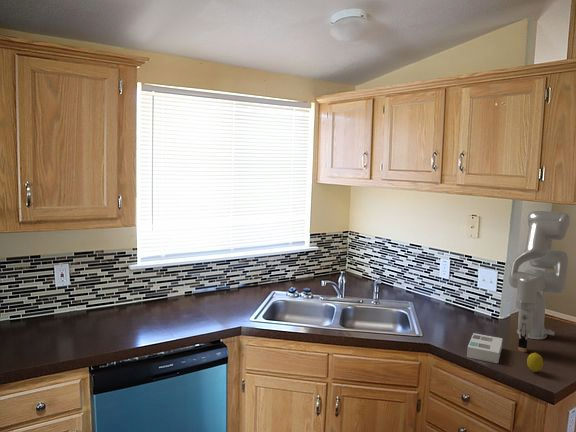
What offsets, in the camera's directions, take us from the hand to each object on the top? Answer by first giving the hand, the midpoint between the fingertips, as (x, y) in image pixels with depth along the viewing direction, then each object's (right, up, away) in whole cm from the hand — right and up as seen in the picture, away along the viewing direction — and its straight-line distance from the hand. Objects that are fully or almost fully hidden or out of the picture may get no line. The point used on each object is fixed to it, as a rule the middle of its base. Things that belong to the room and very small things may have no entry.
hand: (522, 345), depth 199 cm
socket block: (-18, -2, -3) cm, 18 cm away
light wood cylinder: (0, -2, 0) cm, 2 cm away
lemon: (-6, -5, -20) cm, 22 cm away
